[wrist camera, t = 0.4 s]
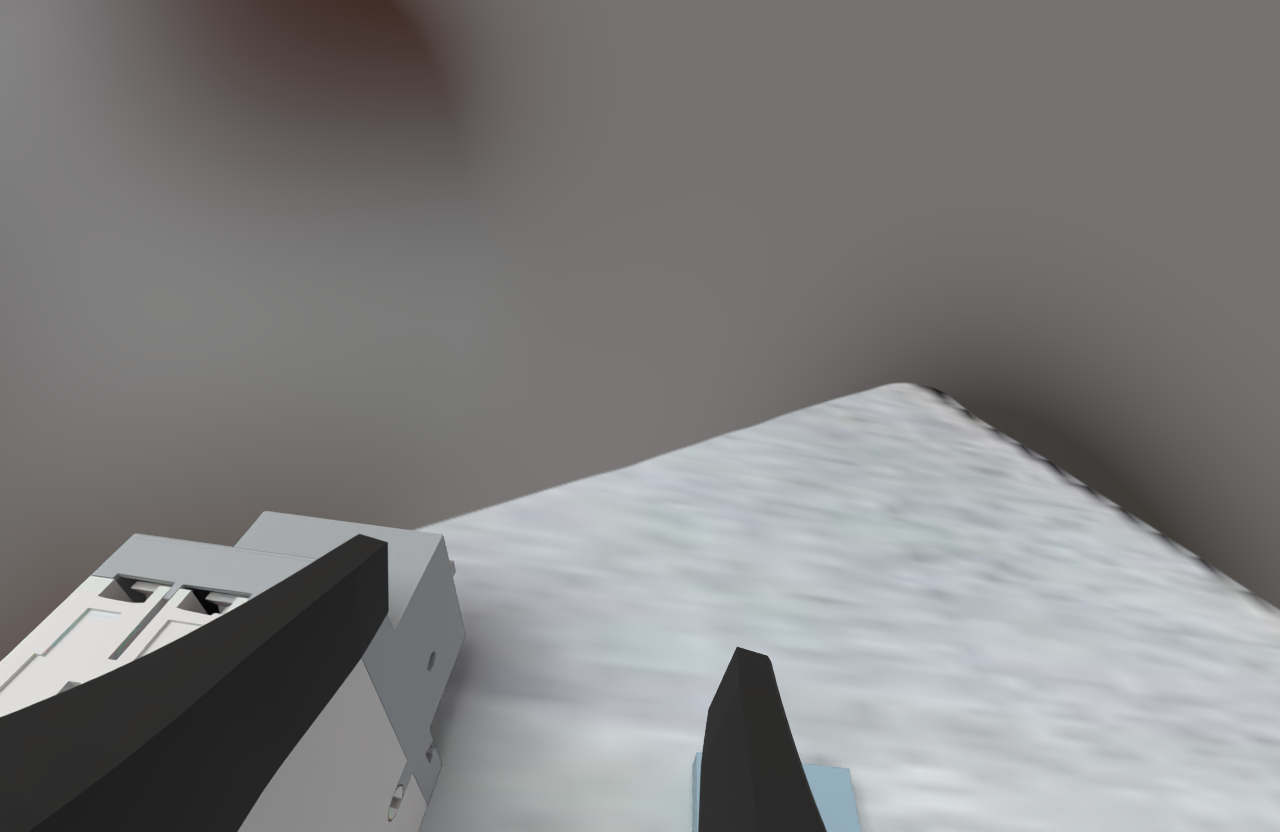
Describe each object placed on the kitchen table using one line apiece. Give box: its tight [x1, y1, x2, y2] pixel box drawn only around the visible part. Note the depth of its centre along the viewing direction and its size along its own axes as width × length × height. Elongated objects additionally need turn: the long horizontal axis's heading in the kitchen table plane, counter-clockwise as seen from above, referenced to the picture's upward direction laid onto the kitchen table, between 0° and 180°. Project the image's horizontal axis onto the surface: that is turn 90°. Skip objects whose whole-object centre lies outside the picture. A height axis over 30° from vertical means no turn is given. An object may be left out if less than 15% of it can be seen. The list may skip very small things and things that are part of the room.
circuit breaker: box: [0, 511, 465, 832], centre depth 22 cm, size 8×14×15 cm, turn 173°
